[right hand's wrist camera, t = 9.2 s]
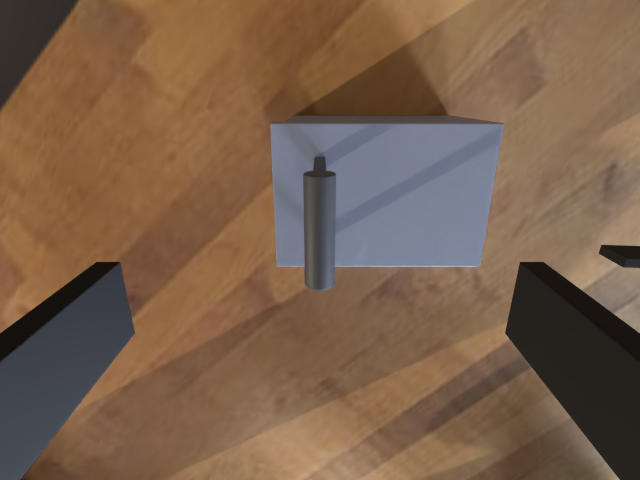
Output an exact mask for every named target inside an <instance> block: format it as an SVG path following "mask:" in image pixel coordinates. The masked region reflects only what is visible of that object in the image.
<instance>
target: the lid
mask: <svg viewBox="0 0 640 480" xmlns="http://www.w3.org/2000/svg"><path fill="white" fill-rule="evenodd" d="M503 125H504V124H503V123H497V122H273V123H271V124H270V129H271V151H272V173H273V195H274V217H275V239H276V261H277V266H278V267H305V285H306V286H307V287H308V288H310V289H313V290H327V289H330V288H331V287H333V286H334V284H335V267H479V266H480V262H481V256H482V250H483V244H484V238H485V232H486V226H487V220H488V214H489V208H490V202H491V196H492V190H493V184H494V179H495V173H496V167H497V161H498V155H499V149H500V143H501V137H502V131H503Z"/></svg>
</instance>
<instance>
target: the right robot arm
mask: <svg viewBox="0 0 640 480" xmlns="http://www.w3.org/2000/svg"><path fill="white" fill-rule="evenodd" d="M134 333H135V332H134V327H133V322H132V317H131V313H130V308H129V303H128V298H127V293H126V289H125V284H124V279H123V274H122V270H121V265H120V262H96V263H95V264H93V265H92V266H91V267H89V268H88V269H87V270H85V271H84V272H83V273H81V274H80V275H78V276H77V277H76V278H74V279H73V280H72V281H70V282H69V283H68V284H66V285H65V286H64V287H62V288H61V289H60V290H58V291H57V292H56V293H54V294H53V295H52V296H50V297H49V298H47V299H46V300H45V301H43V302H42V303H41V304H39V305H38V306H37V307H35V308H34V309H33V310H31V311H30V312H29V313H27V314H26V315H25V316H23V317H22V318H20V319H19V320H18V321H16V322H15V323H14V324H12V325H11V326H10V327H8V328H7V329H6V330H4V331H3V332H2V333H0V480H20V479H21V478H22V477H23V475H24V474H25V473H26V472H27V470H28V469H29V468H30V466H31V465H32V464H33V463H34V461H35V460H36V459H37V457H38V456H39V455H40V454H41V452H42V451H43V450H44V448H45V447H46V446H47V445H48V443H49V442H50V441H51V440H52V438H53V437H54V436H55V434H56V433H57V432H58V431H59V429H60V428H61V427H62V425H63V424H64V423H65V422H66V420H67V419H68V418H69V417H70V415H71V414H72V413H73V411H74V410H75V409H76V408H77V406H78V405H79V404H80V402H81V401H82V400H83V399H84V397H85V396H86V395H87V394H88V392H89V391H90V390H91V388H92V387H93V386H94V385H95V383H96V382H97V381H98V379H99V378H100V377H101V376H102V374H103V373H104V372H105V371H106V369H107V368H108V367H109V365H110V364H111V363H112V362H113V360H114V359H115V358H116V356H117V355H118V354H119V353H120V351H121V350H122V349H123V348H124V346H125V345H126V344H127V342H128V341H129V340H130V339H131V337H132V336H133V335H134ZM505 333H506V335H507V336H508V337H509V339H510V340H511V341H512V342H513V344H514V345H515V346H516V348H517V349H518V350H519V351H520V353H521V354H522V355H523V356H524V358H525V359H526V360H527V362H528V363H529V364H530V365H531V367H532V368H533V369H534V371H535V372H536V373H537V374H538V376H539V377H540V378H541V379H542V381H543V382H544V383H545V385H546V386H547V387H548V388H549V390H550V391H551V392H552V394H553V395H554V396H555V397H556V399H557V400H558V401H559V402H560V404H561V405H562V406H563V408H564V409H565V410H566V411H567V413H568V414H569V415H570V417H571V418H572V419H573V420H574V422H575V423H576V424H577V425H578V427H579V428H580V429H581V431H582V432H583V433H584V434H585V436H586V437H587V438H588V440H589V441H590V442H591V443H592V445H593V446H594V447H595V448H596V450H597V451H598V452H599V454H600V455H601V456H602V457H603V459H604V460H605V461H606V463H607V464H608V465H609V466H610V468H611V469H612V470H613V472H614V473H615V474H616V475H617V477H618V478H619V479H620V480H640V333H638V332H637V331H636V330H634V329H633V328H632V327H630V326H629V325H628V324H626V323H625V322H624V321H622V320H621V319H620V318H618V317H617V316H615V315H614V314H613V313H611V312H610V311H609V310H607V309H606V308H605V307H603V306H602V305H601V304H599V303H598V302H597V301H595V300H594V299H593V298H591V297H590V296H588V295H587V294H586V293H584V292H583V291H582V290H580V289H579V288H578V287H576V286H575V285H574V284H572V283H571V282H570V281H568V280H567V279H566V278H564V277H563V276H562V275H560V274H559V273H557V272H556V271H555V270H553V269H552V268H551V267H549V266H548V265H547V264H545V263H544V262H520V265H519V270H518V274H517V279H516V284H515V289H514V293H513V298H512V303H511V308H510V313H509V317H508V322H507V327H506V332H505Z"/></svg>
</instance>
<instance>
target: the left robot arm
mask: <svg viewBox="0 0 640 480" xmlns="http://www.w3.org/2000/svg"><path fill="white" fill-rule="evenodd" d="M599 254H601V255H602V256H604V257H606V258H608V259H610V260H611V261H613V262H615V263H617V264H618V265H620V266H622V267H628V268H640V246H617V245H601V248H600V251H599Z"/></svg>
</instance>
